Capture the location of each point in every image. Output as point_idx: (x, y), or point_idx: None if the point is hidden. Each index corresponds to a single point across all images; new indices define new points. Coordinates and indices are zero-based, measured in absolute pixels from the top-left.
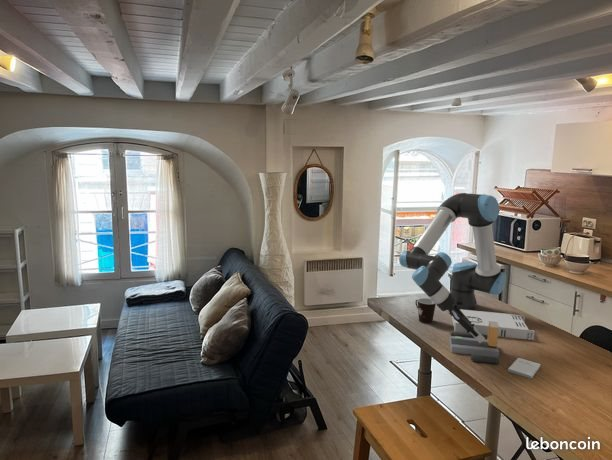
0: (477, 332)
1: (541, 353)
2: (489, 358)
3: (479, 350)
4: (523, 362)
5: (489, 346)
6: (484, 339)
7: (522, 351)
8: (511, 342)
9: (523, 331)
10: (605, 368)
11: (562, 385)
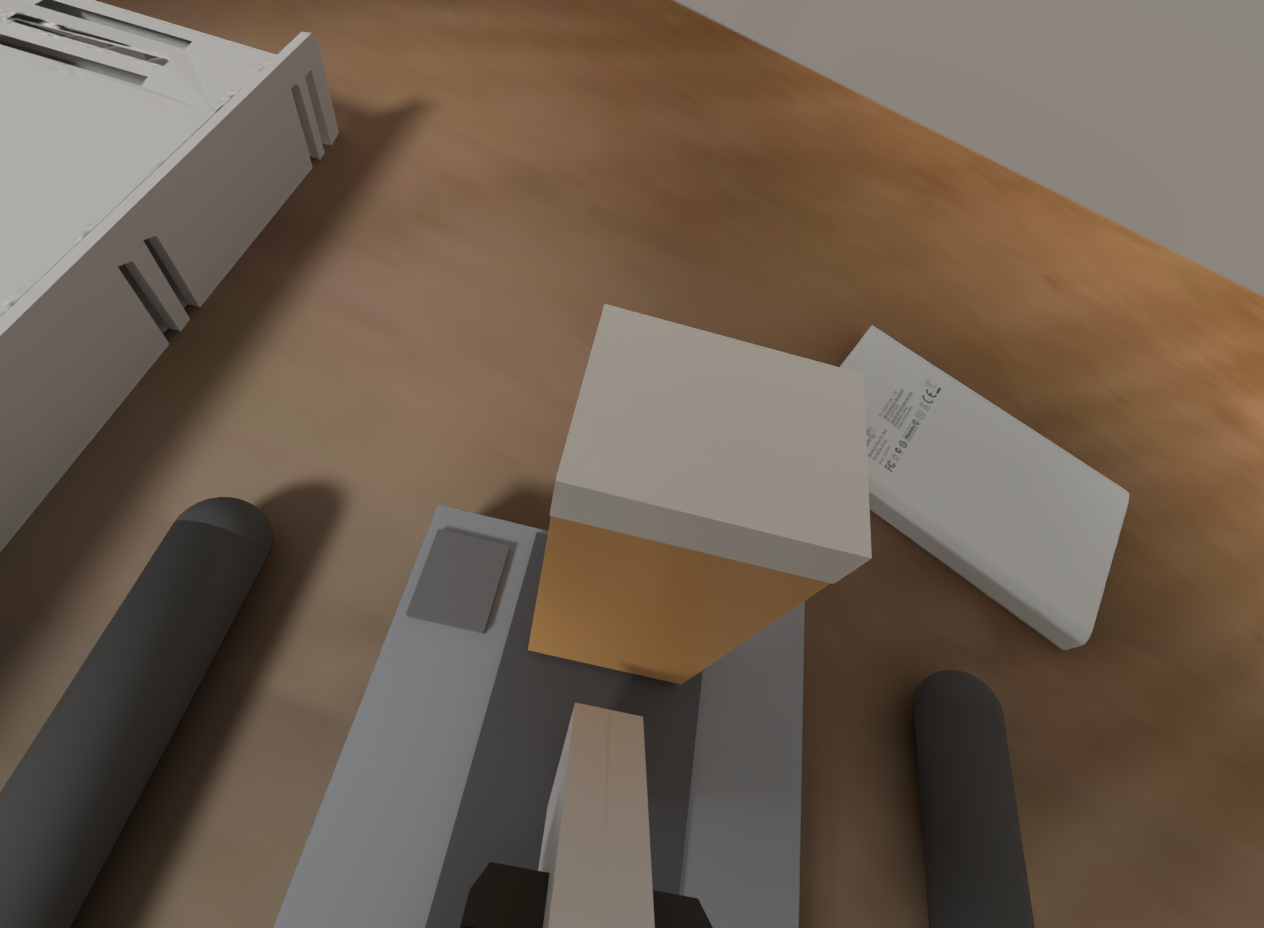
0: (649, 926)
1: (618, 216)
2: (1016, 810)
3: (791, 891)
4: (887, 432)
5: None
6: (638, 731)
7: (588, 323)
8: (363, 315)
9: (267, 108)
10: (785, 59)
11: (1105, 350)
